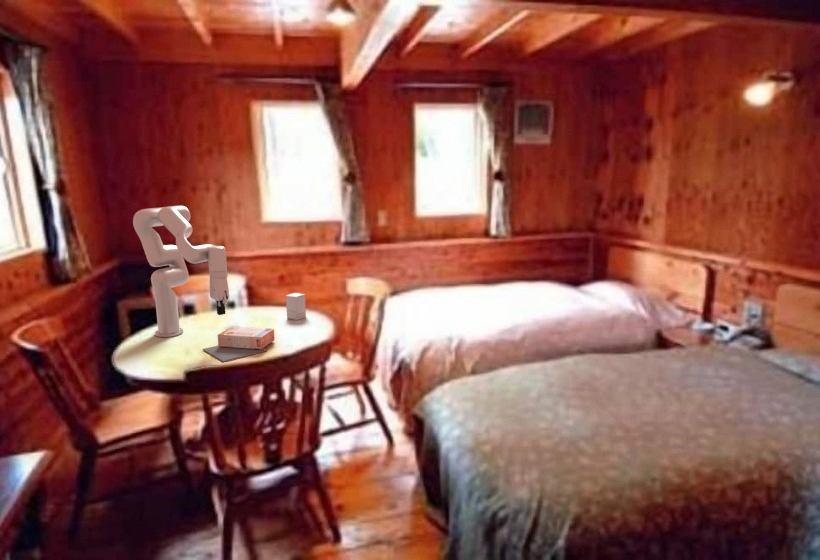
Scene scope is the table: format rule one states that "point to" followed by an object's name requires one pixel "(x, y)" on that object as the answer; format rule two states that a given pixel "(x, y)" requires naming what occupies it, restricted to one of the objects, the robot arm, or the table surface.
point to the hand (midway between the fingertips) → (221, 314)
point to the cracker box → (246, 337)
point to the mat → (231, 352)
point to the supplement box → (296, 306)
